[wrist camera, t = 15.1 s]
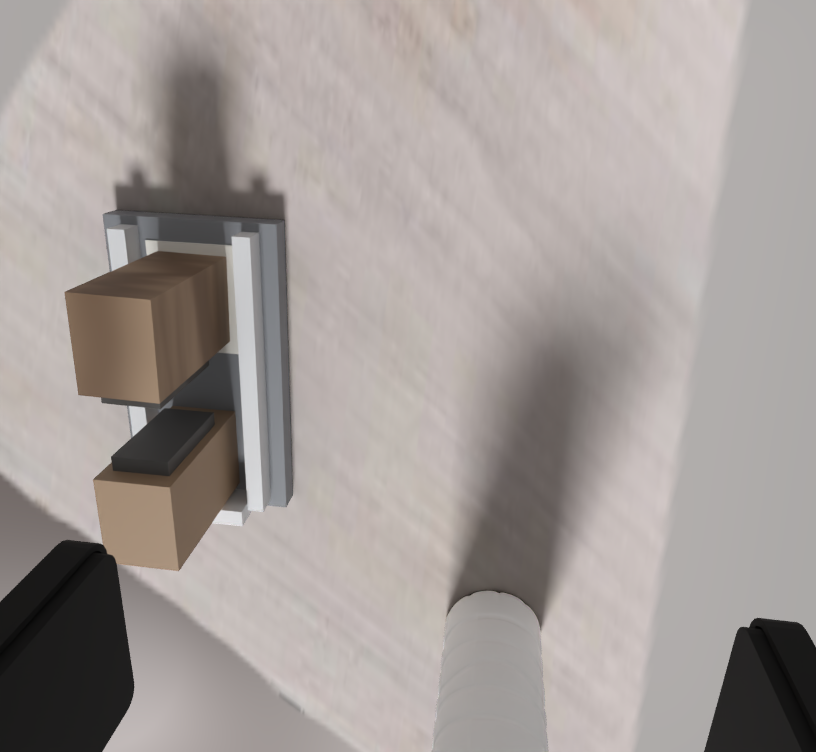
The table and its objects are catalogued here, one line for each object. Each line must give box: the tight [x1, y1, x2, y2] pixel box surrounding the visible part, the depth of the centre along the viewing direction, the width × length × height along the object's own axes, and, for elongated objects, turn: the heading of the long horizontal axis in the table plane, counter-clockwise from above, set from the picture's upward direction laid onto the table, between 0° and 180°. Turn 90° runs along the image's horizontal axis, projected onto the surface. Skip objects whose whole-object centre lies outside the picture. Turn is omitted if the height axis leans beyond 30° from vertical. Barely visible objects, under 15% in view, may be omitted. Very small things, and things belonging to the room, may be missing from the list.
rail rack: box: [93, 210, 293, 571], centre depth 38 cm, size 18×10×10 cm, turn 178°
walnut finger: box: [65, 251, 230, 409], centre depth 36 cm, size 4×6×9 cm
